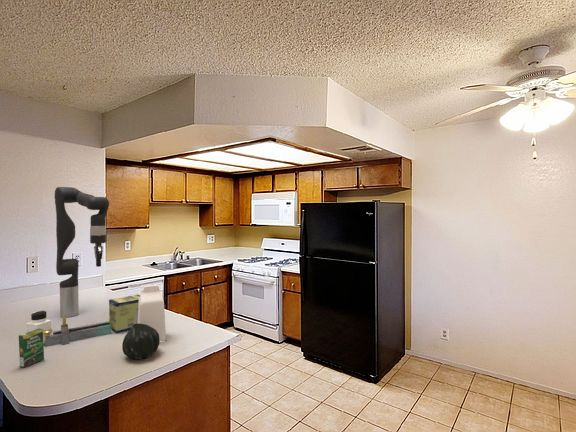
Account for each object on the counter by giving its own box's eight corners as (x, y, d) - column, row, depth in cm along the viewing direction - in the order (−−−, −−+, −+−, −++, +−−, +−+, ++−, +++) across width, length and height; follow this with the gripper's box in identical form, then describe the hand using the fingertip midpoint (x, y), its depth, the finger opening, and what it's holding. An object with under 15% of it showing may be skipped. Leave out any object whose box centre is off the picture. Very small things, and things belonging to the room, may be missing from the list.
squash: (170, 335, 152) (147, 311, 151) (158, 351, 137) (133, 324, 136) (147, 356, 152) (124, 332, 151) (133, 374, 138) (107, 347, 137)
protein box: (108, 329, 176) (108, 299, 176) (138, 321, 187) (138, 293, 187) (116, 334, 169) (116, 303, 168) (147, 326, 180) (146, 297, 180)
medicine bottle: (51, 334, 169) (51, 310, 168) (36, 339, 162) (36, 314, 162) (41, 332, 171) (41, 308, 171) (26, 337, 164) (26, 313, 164)
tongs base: (41, 340, 160) (40, 328, 160) (108, 328, 177) (108, 316, 177) (40, 349, 151) (40, 335, 150) (112, 335, 167) (112, 322, 167)
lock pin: (62, 334, 164) (61, 315, 164) (66, 334, 165) (66, 315, 165) (62, 335, 163) (62, 316, 162) (66, 335, 164) (66, 316, 164)
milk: (138, 346, 154) (138, 289, 154) (137, 337, 165) (136, 284, 164) (166, 341, 160) (165, 286, 159) (163, 333, 170) (162, 282, 169)
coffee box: (23, 368, 133) (22, 335, 132) (18, 367, 134) (18, 334, 133) (44, 359, 140) (44, 328, 140) (40, 358, 141) (39, 327, 141)
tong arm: (53, 339, 160) (53, 331, 160) (109, 328, 175) (109, 321, 175) (53, 341, 159) (53, 332, 159) (110, 330, 173) (110, 322, 173)
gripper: (88, 233, 183) (89, 265, 183) (91, 235, 172) (91, 269, 172) (104, 233, 187) (104, 264, 188) (108, 234, 176) (108, 267, 177)
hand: (98, 266), depth 180 cm, fingers closed
